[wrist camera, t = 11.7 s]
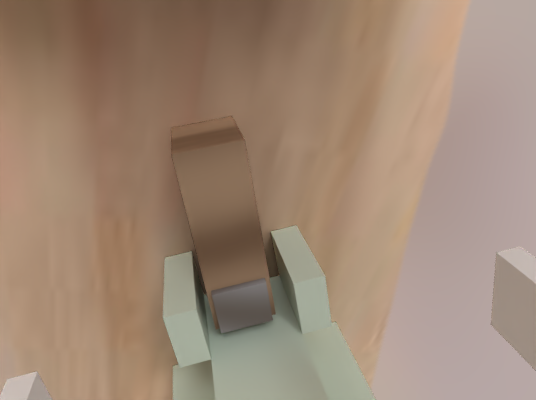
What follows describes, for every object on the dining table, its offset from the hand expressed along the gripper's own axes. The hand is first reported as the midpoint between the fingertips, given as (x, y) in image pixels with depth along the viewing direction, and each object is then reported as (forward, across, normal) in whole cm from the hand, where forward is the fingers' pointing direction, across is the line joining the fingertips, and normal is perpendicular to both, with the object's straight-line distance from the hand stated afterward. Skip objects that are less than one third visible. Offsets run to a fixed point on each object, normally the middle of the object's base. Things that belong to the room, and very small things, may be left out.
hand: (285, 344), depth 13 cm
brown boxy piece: (+19, -1, -4) cm, 20 cm away
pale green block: (+19, -1, -14) cm, 24 cm away
